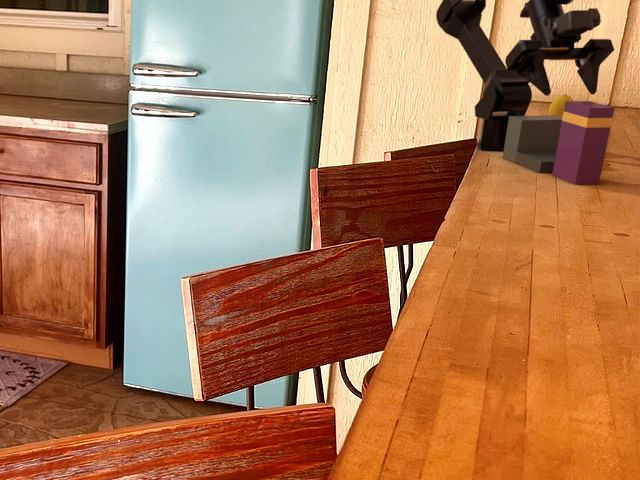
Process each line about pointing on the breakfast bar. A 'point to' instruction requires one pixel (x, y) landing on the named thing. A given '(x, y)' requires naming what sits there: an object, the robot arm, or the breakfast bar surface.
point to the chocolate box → (582, 142)
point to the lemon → (559, 105)
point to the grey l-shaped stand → (533, 141)
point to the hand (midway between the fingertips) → (571, 93)
